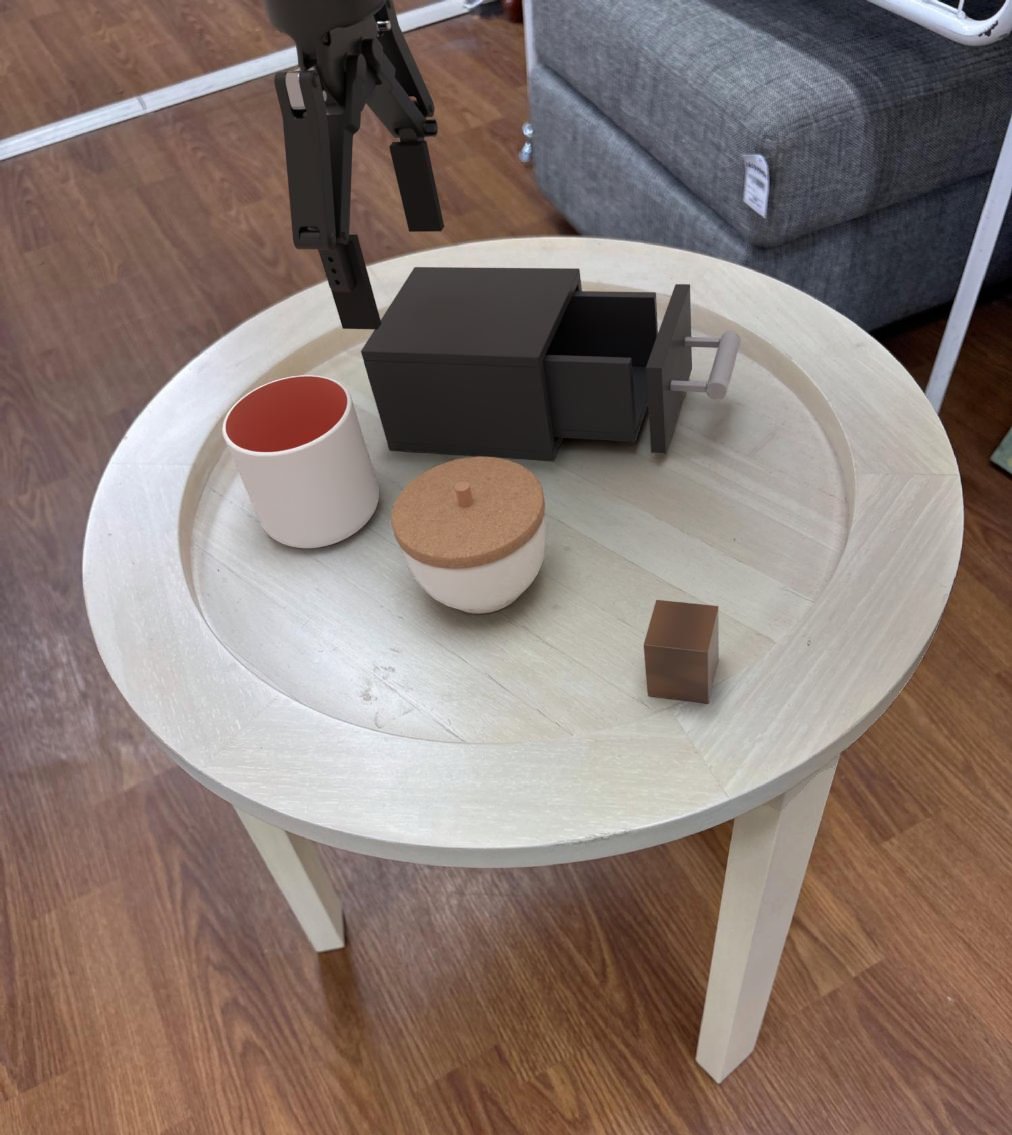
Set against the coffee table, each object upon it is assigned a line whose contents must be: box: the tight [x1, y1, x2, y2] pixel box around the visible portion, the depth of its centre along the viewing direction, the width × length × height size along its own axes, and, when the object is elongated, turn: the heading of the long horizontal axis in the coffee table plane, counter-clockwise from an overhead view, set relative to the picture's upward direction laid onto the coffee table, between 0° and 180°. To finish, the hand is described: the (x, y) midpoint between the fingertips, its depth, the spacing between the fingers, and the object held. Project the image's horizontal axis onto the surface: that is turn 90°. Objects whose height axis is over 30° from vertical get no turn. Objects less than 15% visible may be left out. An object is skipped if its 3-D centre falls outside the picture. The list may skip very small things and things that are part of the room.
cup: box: [221, 374, 380, 549], centre depth 84 cm, size 10×10×10 cm
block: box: [643, 599, 720, 704], centre depth 69 cm, size 4×4×5 cm
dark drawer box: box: [360, 266, 583, 462], centre depth 90 cm, size 15×13×10 cm
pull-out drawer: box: [543, 283, 742, 455], centre depth 86 cm, size 18×12×8 cm, turn 73°
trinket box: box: [390, 456, 548, 615], centre depth 76 cm, size 11×11×9 cm
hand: (396, 275), depth 79 cm, fingers open, 13 cm apart
